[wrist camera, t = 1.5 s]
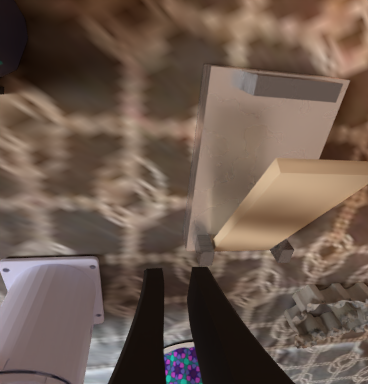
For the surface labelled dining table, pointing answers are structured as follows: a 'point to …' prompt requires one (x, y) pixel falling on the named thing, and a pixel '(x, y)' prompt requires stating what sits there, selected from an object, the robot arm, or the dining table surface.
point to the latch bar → (289, 201)
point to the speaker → (11, 37)
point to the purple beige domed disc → (182, 365)
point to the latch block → (251, 141)
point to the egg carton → (328, 322)
